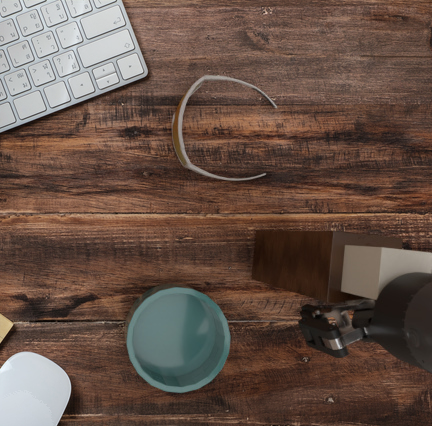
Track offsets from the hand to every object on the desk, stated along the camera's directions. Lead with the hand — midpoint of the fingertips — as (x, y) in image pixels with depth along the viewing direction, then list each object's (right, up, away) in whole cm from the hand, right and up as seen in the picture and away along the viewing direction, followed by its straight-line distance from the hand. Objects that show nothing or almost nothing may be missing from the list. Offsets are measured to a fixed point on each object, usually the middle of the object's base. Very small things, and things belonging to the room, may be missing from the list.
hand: (343, 298), depth 51 cm
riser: (-1, +3, +17) cm, 18 cm away
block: (0, +4, -5) cm, 6 cm away
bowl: (-16, -8, +16) cm, 24 cm away
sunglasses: (-9, +21, +18) cm, 29 cm away
